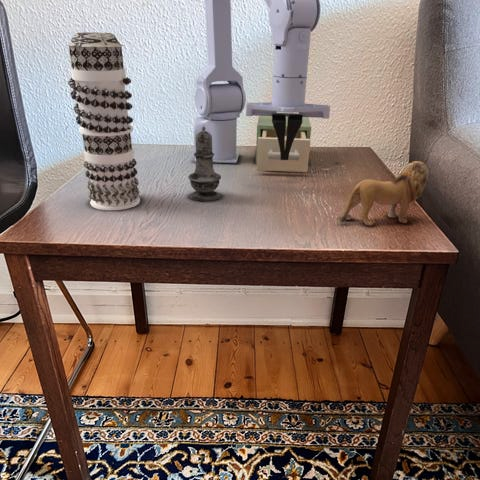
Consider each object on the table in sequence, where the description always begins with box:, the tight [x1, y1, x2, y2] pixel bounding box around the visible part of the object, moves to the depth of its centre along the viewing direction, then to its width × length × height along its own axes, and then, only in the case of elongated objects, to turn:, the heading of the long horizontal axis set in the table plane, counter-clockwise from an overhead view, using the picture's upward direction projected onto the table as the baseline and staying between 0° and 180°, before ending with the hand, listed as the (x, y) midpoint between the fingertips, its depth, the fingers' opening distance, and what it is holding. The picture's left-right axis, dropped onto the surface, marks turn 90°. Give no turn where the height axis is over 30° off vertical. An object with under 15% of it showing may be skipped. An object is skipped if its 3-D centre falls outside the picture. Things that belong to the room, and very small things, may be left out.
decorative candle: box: [66, 31, 141, 211], centre depth 74 cm, size 9×9×25 cm
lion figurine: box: [339, 160, 429, 227], centre depth 73 cm, size 15×5×9 cm, turn 110°
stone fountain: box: [187, 126, 222, 202], centre depth 81 cm, size 6×6×12 cm
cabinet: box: [255, 116, 312, 165], centre depth 108 cm, size 14×12×8 cm
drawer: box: [256, 129, 312, 173], centre depth 98 cm, size 17×10×6 cm, turn 176°
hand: (284, 158), depth 86 cm, fingers closed
